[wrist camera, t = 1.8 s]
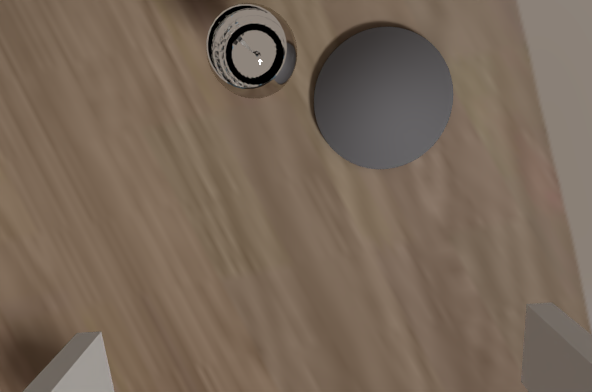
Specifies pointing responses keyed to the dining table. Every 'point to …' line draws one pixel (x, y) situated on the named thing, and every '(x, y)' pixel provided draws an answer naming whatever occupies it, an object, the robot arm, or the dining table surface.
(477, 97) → the dining table surface
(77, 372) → the robot arm
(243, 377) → the dining table surface
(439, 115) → the coaster
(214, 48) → the wineglass
